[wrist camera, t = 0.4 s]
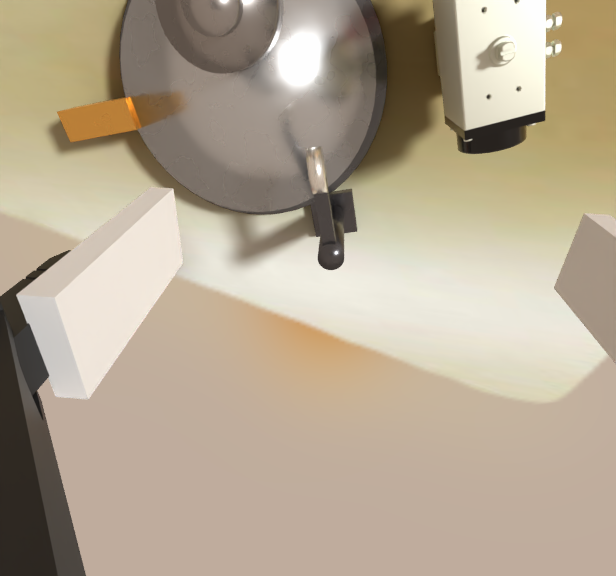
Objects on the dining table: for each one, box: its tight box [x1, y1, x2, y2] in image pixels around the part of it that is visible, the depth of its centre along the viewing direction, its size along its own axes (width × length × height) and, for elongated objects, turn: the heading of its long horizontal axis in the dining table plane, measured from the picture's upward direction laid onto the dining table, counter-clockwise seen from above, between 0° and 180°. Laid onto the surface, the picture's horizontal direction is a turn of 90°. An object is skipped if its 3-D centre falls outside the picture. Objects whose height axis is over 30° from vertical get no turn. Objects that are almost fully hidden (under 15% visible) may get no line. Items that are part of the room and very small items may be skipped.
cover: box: [155, 0, 283, 74], centre depth 28 cm, size 8×8×5 cm
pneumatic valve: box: [433, 0, 562, 154], centre depth 28 cm, size 6×12×12 cm, turn 15°
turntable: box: [57, 0, 376, 212], centre depth 34 cm, size 20×26×3 cm
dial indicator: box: [306, 146, 357, 270], centre depth 35 cm, size 10×4×11 cm, turn 10°
